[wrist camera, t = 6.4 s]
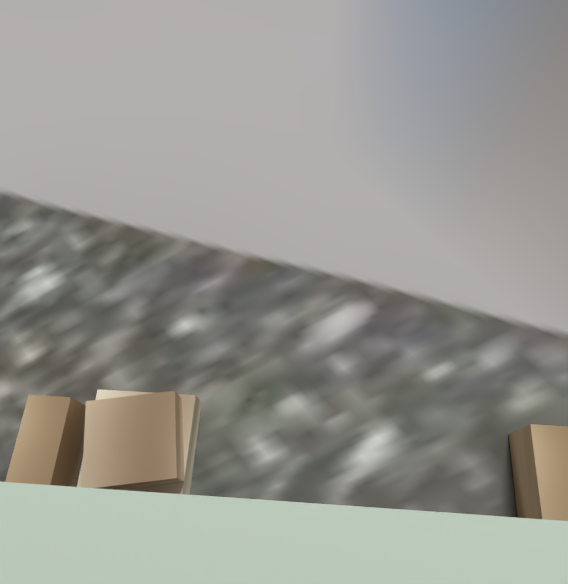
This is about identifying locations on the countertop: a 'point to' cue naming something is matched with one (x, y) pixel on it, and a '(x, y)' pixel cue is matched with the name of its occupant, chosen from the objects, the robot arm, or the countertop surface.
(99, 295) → the countertop surface
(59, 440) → the wooden u-shaped frame
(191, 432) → the offcut stack
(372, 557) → the pale green rectangular pillar
